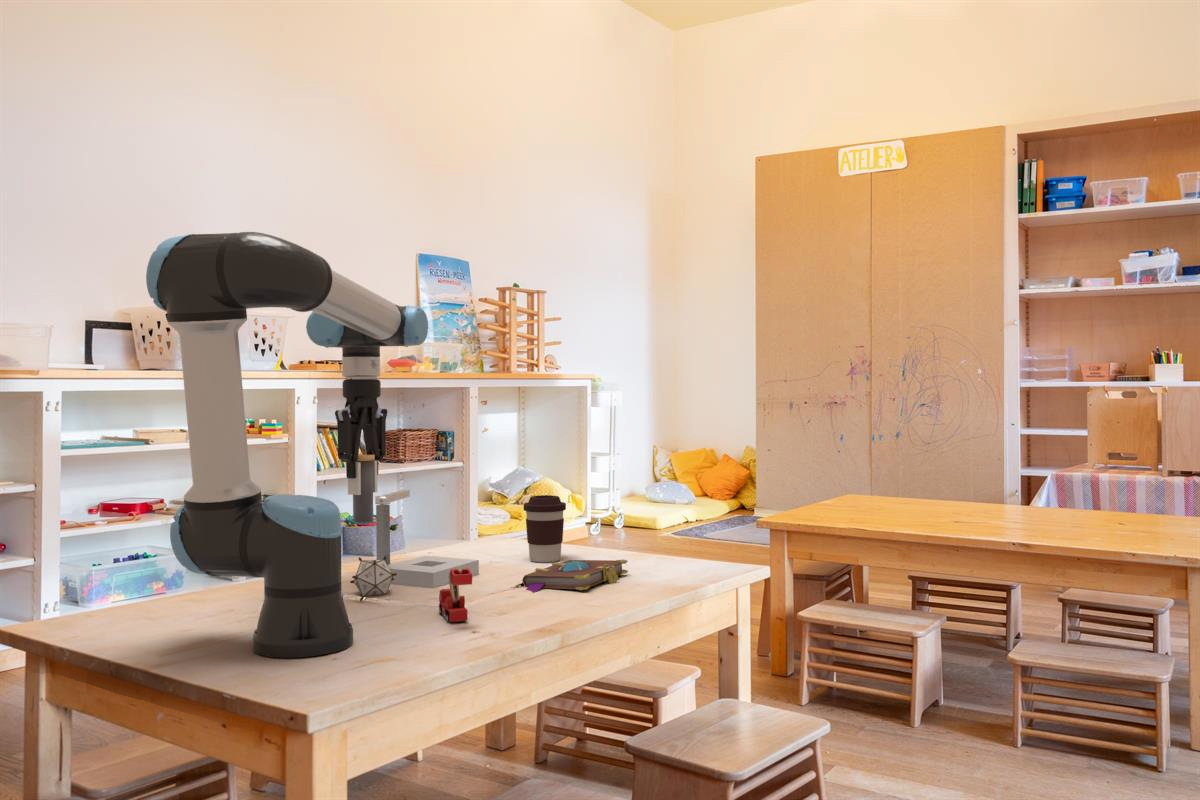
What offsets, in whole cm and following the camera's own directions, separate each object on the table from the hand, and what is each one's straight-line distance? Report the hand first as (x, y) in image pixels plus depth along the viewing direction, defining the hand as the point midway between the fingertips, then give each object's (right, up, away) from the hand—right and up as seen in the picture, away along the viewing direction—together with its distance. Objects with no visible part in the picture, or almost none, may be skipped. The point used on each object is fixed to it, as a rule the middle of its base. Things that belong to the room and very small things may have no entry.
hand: (362, 493), depth 201 cm
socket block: (+13, -19, +5) cm, 24 cm away
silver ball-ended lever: (+3, -3, +16) cm, 17 cm away
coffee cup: (+35, -19, +31) cm, 51 cm away
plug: (0, -6, 0) cm, 6 cm away
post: (+2, -19, +10) cm, 22 cm away
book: (+43, -20, +4) cm, 47 cm away
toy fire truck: (+23, -20, -28) cm, 41 cm away
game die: (+5, -20, -10) cm, 23 cm away
